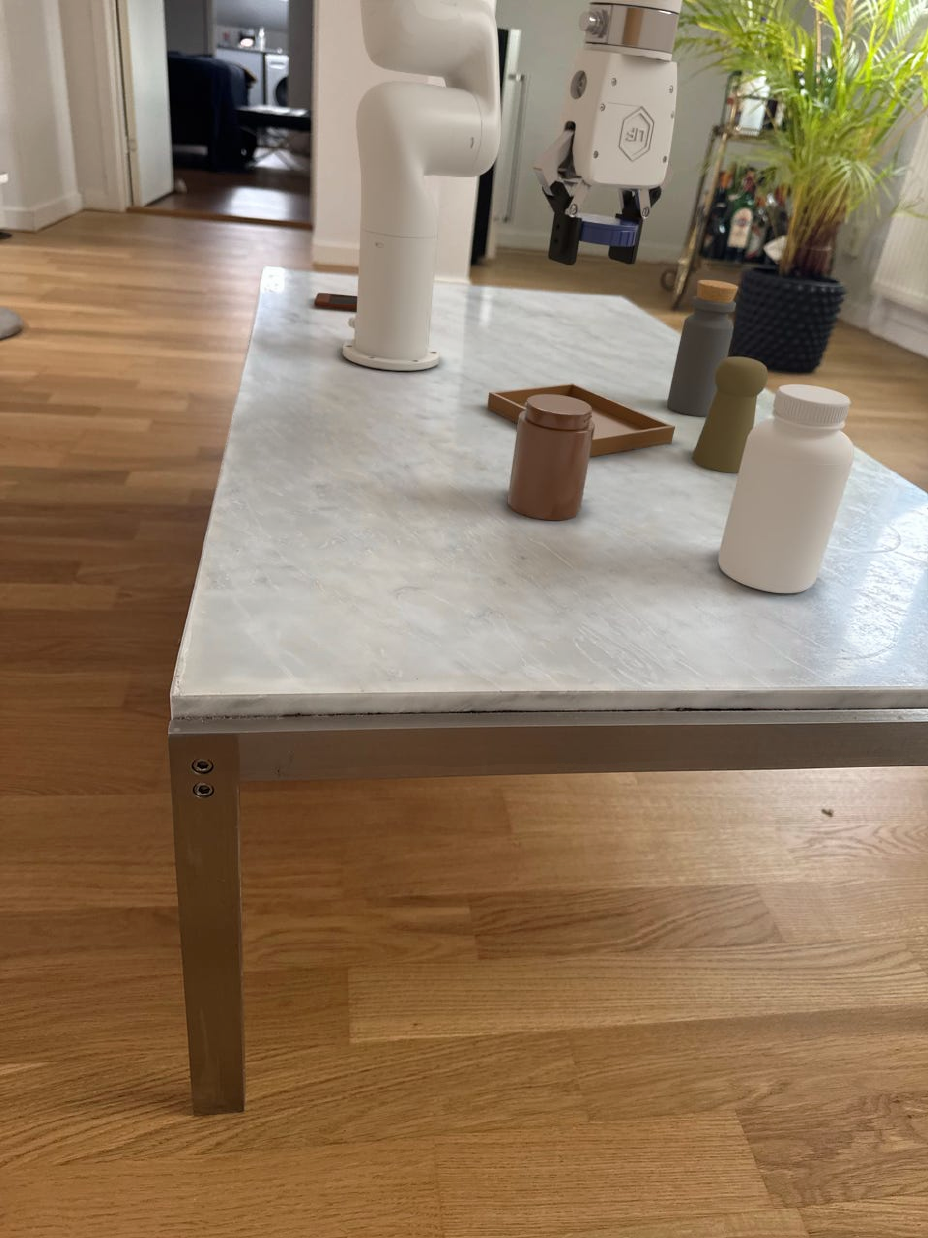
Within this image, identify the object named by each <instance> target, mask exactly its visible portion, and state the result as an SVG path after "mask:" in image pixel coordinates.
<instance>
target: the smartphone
mask: <svg viewBox="0 0 928 1238" xmlns="http://www.w3.org/2000/svg"><path fill="white" fill-rule="evenodd" d="M313 304H314V306H315V307H316V308H323V309H335V310H346V311H355V312H357V295H349V294H338V293H330V292H328V293H327V292H318V293H317V294H316V297H315V300H314V303H313Z"/></svg>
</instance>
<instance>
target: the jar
mask: <svg viewBox="0 0 928 1238" xmlns="http://www.w3.org/2000/svg"><path fill="white" fill-rule="evenodd" d="M525 407H526V410H525V411H523V412H521V413H520V414H519V419H518V423H517V427H516V435H515V436H516V437H515V442H514V449H513V456H512V464H511V472H510V479H509V486H508V495H507V504H508V506H509V507H510V508H511V509H512V510H513V511H515V512H517V513H519V514H520V515H523V516H526V517H529V518H533V519H536V520H537V519H538V520H544V521H566V520H570V519H573V518H575V517H577V516H578V515H579V514H580V513H581V509H582V503H583V496H584V492H585V484H586V480H587V474H588V468H589V463H590V458H591V457H590V452H591V446H592V440H593V435H594V429H595V424H594V422H593V421H592V420H591V419H592V413H593V411H592V407H591V406H590V405H589V404H588V403H586V402H584V401H582V400H579V399H576V398H572V397H568V396H562V395H553V394H541V395H534V396H531V397H529V398H528V399H527V402H525Z"/></svg>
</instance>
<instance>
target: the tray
mask: <svg viewBox="0 0 928 1238" xmlns="http://www.w3.org/2000/svg"><path fill="white" fill-rule="evenodd" d="M541 394H553V395H562V396H568V397H572V398H576V399H579V400H582V401H584V402H586V403H588V404H589V405H590V406H591V407H592V411H593V413H592V419H591V420H592V421H593V422H594V424H595V429H594V435H593V440H592V446H591V452H590V457H589V458H591V457H598V456H605V455H609V454H616V453H621V452H628V451H632V450H638V449H644V448H650V447H655V446H662V445H668V444H672V443H673V439H674V435H675V434H674V433H675V429H676V426H675V425H673V424H670V423H667V422H665V421H663V420H661V419H658V418H656V417H654V416H651V415H649V414H646V413H644V412H642V411H640V410H637V409H635V408H633V407H630V406H628V405H626V404H623V403H621V402H618V401H616V400H614V399H611V398H609V397H606V396H605V395H602V394H600V393H597V392H595V391H592V390H591V389H587V388H585V387H583V386H580V385H578V384H576V383H574V382H571V383H562V384H561V383H560V384H553V385H544V386H534V387H525V388H515V389H506V390H498V391H490V392H489V391H488V398H487V399H488V400H487V406H486V407H487V408H486V409H487V410H490V411H491V412H494V413H496V414H497V415H499V416H502V417H504V418H506V419H508V420H510V421H512V422H513V423H516V424H518V419H519V414H520V413H521V412H523V411H525V410H526V407H525V402H527V399H528V398H529V397H531V396H534V395H541Z"/></svg>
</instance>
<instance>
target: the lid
mask: <svg viewBox="0 0 928 1238" xmlns="http://www.w3.org/2000/svg"><path fill="white" fill-rule="evenodd" d="M576 217H580V218H582V227H581V233H580V240H579V242H582V243H588V244H593V245H600V246H601V245H602V246H608V247H609V246H623V247H627V246H633V245H634V244H636V239H637V234H638V230H637V229H638V224H637V223H635V222H632V221H628V220H624V219H620V218H615V216H608V215H603V214H596V213H586V212H578V214H577V215H576Z"/></svg>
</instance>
